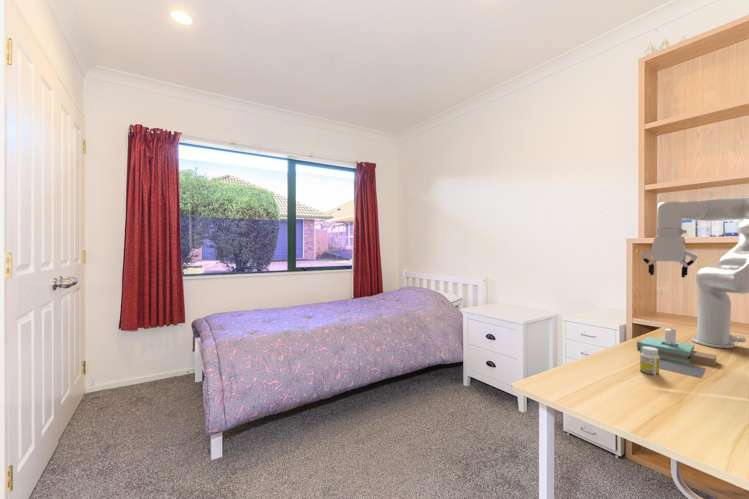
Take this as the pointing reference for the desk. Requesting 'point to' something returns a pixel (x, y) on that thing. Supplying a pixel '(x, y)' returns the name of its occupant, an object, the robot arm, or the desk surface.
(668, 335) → the steel pin
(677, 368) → the rubber mat
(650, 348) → the supplement bottle
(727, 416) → the desk surface
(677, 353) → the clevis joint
